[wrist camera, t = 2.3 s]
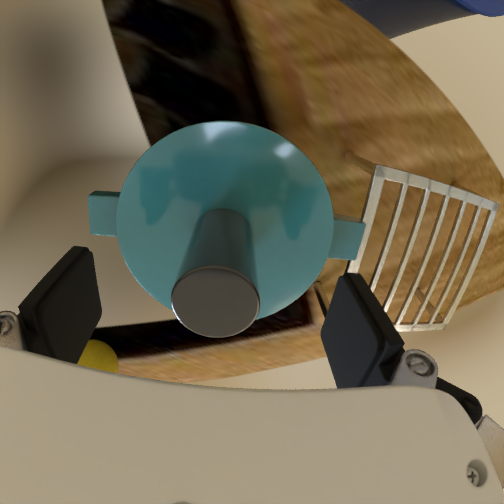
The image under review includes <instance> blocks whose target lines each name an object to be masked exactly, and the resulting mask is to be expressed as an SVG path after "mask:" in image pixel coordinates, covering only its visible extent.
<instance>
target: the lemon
mask: <svg viewBox="0 0 504 504" xmlns="http://www.w3.org/2000/svg"><path fill="white" fill-rule="evenodd" d="M77 365H81V366H86V367H90V368H94V369H99V370H103V371H108V372H113V373H118V360H117V356H116V354H115V352H114V351H113V349H112V348H111V347H110V346H109V345H108V344H106V343H105V342H102V341H99V340H89V341H88V343H87V345H86V347H85V349H84V351H83V353H82V355H81V357H80V359H79V361H78V363H77Z"/></svg>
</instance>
